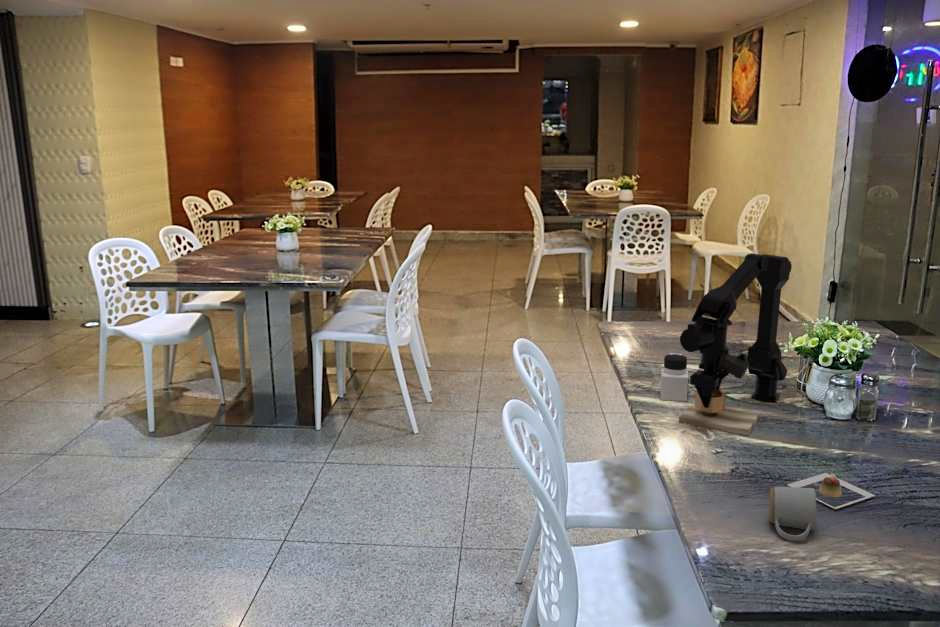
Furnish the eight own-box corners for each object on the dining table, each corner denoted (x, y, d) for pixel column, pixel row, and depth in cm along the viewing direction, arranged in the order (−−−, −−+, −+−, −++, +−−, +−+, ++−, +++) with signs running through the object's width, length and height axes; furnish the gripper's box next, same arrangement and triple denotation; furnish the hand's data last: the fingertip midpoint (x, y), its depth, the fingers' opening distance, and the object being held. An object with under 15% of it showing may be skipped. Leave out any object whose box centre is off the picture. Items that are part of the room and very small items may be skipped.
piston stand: (692, 407, 211) (692, 402, 211) (758, 419, 203) (759, 414, 202) (678, 422, 201) (679, 417, 201) (747, 435, 193) (748, 430, 192)
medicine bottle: (687, 402, 216) (690, 359, 213) (660, 400, 217) (662, 358, 214) (686, 393, 222) (688, 352, 220) (659, 391, 224) (661, 351, 221)
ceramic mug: (766, 512, 156) (770, 476, 154) (811, 518, 154) (815, 482, 152) (769, 540, 146) (772, 502, 144) (817, 546, 144) (821, 508, 142)
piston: (703, 410, 206) (704, 395, 205) (719, 412, 204) (720, 398, 203) (699, 414, 202) (700, 400, 201) (715, 417, 200) (716, 402, 199)
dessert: (835, 514, 156) (837, 492, 155) (786, 489, 166) (788, 468, 165) (875, 500, 161) (878, 479, 160) (825, 477, 172) (827, 456, 171)
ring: (700, 400, 207) (701, 386, 206) (727, 405, 204) (728, 390, 203) (692, 409, 201) (693, 394, 200) (720, 414, 198) (721, 399, 197)
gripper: (738, 358, 187) (733, 420, 190) (755, 339, 202) (751, 397, 206) (691, 352, 192) (687, 412, 196) (711, 333, 208) (708, 390, 211)
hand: (710, 403), depth 202 cm, fingers closed on ring, 7 cm apart
